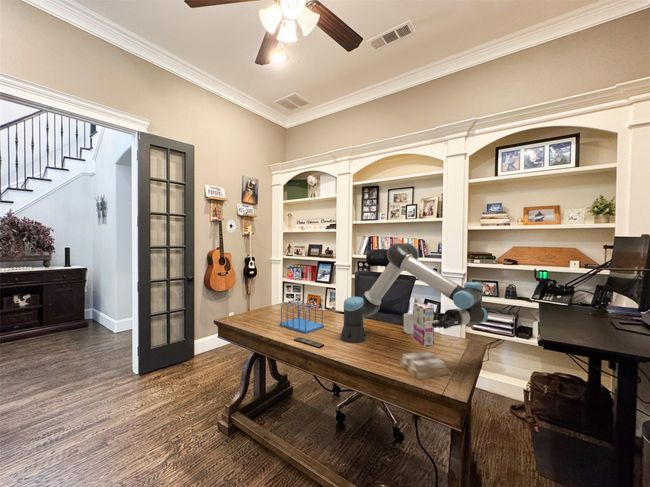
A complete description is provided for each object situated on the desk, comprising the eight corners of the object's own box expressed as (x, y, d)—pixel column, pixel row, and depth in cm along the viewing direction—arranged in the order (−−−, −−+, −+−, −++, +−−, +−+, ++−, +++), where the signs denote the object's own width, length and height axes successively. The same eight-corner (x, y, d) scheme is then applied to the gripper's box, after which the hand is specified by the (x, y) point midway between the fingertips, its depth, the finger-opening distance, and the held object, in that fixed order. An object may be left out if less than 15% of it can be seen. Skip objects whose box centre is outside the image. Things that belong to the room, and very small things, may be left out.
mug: (413, 336, 165) (413, 317, 164) (400, 332, 171) (401, 314, 171) (423, 331, 173) (423, 314, 173) (410, 328, 179) (411, 311, 179)
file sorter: (279, 325, 184) (279, 303, 184) (298, 320, 197) (298, 299, 197) (305, 334, 168) (305, 309, 168) (324, 327, 181) (324, 304, 181)
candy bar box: (434, 346, 116) (434, 308, 116) (423, 346, 116) (423, 308, 116) (423, 337, 128) (423, 302, 128) (412, 337, 127) (412, 302, 127)
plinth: (398, 363, 127) (398, 353, 127) (426, 360, 131) (426, 349, 131) (418, 379, 113) (418, 367, 113) (448, 374, 117) (448, 363, 117)
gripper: (477, 333, 116) (434, 338, 109) (438, 318, 138) (401, 322, 132) (477, 315, 116) (434, 319, 109) (438, 303, 138) (401, 306, 132)
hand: (416, 321), depth 121 cm, fingers closed on candy bar box, 12 cm apart
